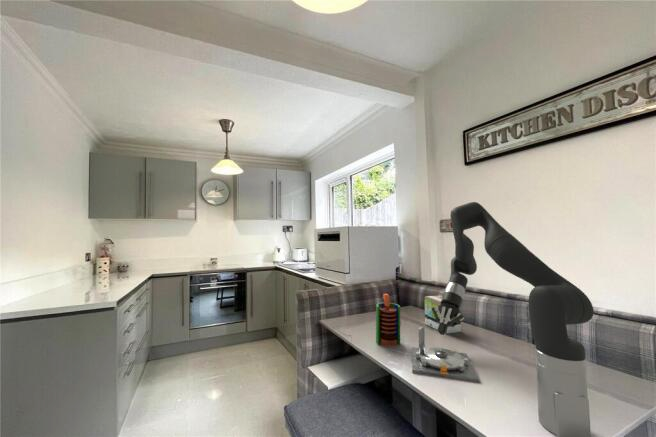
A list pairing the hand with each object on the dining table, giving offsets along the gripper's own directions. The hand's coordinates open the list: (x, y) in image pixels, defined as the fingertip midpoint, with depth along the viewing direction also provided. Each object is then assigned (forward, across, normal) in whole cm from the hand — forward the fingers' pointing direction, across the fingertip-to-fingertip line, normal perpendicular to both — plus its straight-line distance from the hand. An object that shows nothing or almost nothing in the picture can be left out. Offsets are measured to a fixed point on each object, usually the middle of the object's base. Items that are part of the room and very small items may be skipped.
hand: (440, 333), depth 106 cm
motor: (+10, +21, -2) cm, 23 cm away
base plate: (+11, -4, +2) cm, 12 cm away
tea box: (-15, +12, -29) cm, 35 cm away
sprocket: (+10, -4, +2) cm, 11 cm away
